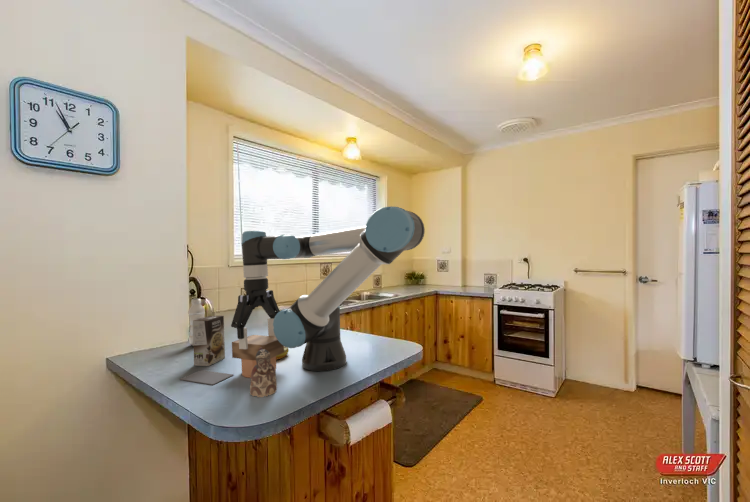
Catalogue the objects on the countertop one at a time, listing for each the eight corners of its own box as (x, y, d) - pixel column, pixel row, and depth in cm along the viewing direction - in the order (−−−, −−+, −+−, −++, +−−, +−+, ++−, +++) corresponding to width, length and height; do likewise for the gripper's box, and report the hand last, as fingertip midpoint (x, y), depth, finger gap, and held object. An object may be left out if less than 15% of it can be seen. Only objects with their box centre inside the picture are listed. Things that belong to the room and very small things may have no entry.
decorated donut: (250, 358, 124) (250, 347, 124) (279, 350, 132) (278, 340, 132) (264, 365, 116) (264, 353, 116) (294, 356, 124) (293, 345, 124)
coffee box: (209, 366, 116) (207, 320, 116) (193, 365, 117) (191, 320, 117) (226, 357, 125) (224, 315, 125) (211, 357, 126) (209, 315, 126)
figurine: (250, 399, 89) (249, 354, 89) (249, 389, 95) (247, 347, 95) (278, 393, 92) (276, 350, 92) (275, 384, 98) (273, 344, 98)
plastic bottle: (185, 347, 141) (183, 300, 141) (196, 342, 148) (194, 298, 148) (199, 347, 140) (197, 300, 140) (209, 343, 147) (207, 297, 147)
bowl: (282, 367, 112) (281, 351, 112) (260, 379, 102) (260, 361, 102) (257, 364, 116) (257, 348, 116) (234, 375, 106) (234, 358, 106)
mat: (233, 375, 107) (233, 374, 107) (212, 385, 99) (212, 384, 99) (201, 370, 112) (201, 369, 112) (179, 379, 104) (179, 378, 104)
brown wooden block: (284, 352, 111) (283, 337, 111) (264, 361, 102) (264, 345, 102) (253, 349, 116) (252, 334, 116) (232, 357, 107) (231, 342, 107)
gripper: (271, 274, 122) (274, 332, 122) (216, 282, 99) (219, 353, 99) (288, 274, 119) (291, 333, 119) (235, 282, 96) (239, 355, 96)
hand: (258, 342), depth 109 cm, fingers open, 13 cm apart
